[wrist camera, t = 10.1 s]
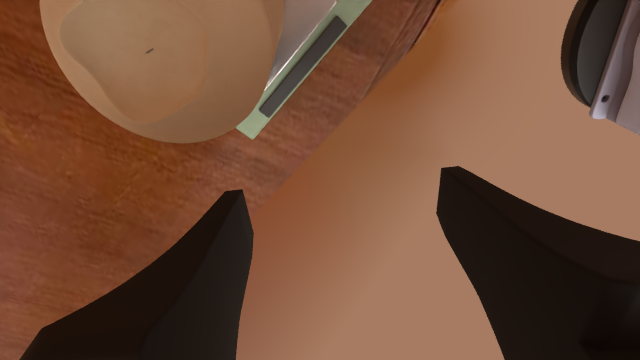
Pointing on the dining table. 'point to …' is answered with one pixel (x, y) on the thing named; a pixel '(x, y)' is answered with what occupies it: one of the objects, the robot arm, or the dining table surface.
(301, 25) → the thin square metal plate
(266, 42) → the candle
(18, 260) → the dining table surface
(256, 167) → the dining table surface
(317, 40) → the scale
